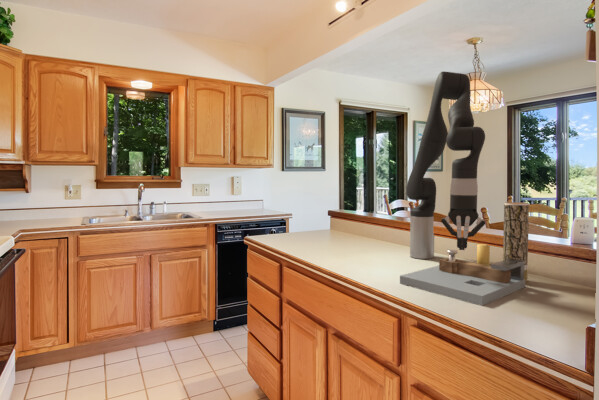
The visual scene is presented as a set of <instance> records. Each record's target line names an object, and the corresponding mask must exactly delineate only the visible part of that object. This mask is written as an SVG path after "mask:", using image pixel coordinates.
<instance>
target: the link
mask: <svg viewBox="0 0 599 400" xmlns="http://www.w3.org/2000/svg"><path fill="white" fill-rule="evenodd" d="M438 261H439V263H438V266H439V270H441V271H443V272H448V273H455V274H462V275H467V276H472V277H477V278H481V279H486V280H491V281H496V282H500V283H508V282H510V279H511V270H507V271H502V270H497V269H492V268H491V265H489V266H488V265H482V264H477V262H469V261H466V260H463V259H459V258H455V262H452V261H449V257H444V258H441V259H439V260H438Z"/></svg>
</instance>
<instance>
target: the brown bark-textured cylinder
mask: <svg viewBox="0 0 599 400" xmlns="http://www.w3.org/2000/svg"><path fill="white" fill-rule="evenodd" d="M503 204H504V205H503V241H502V242H503V243H502V250H503V251H502V261H504V260H507V259H510V258H511V259H517V260H524V279H525V283H526V282H527V280H528V266H529V265H528V263H529V262H528V257H529V256H528V255H529V254H528V253H529V227H530V226H529V225H530V224H529V220H530V203H529V202H520V201H519V202H518V201H517V202H515V201H514V202H513V201H512V202H511V201H508V202H507V201H506V202H504V203H503Z"/></svg>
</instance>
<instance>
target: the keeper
mask: <svg viewBox="0 0 599 400" xmlns="http://www.w3.org/2000/svg"><path fill="white" fill-rule="evenodd" d="M490 266H491V268H492V269H497V270H502V271H507V270H511V279H514V280H519V281H521V280H524V260H517V259H511V258H510V259H507V260H504V261H503V260H500V261H497V262H495V263H491V264H490Z"/></svg>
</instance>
